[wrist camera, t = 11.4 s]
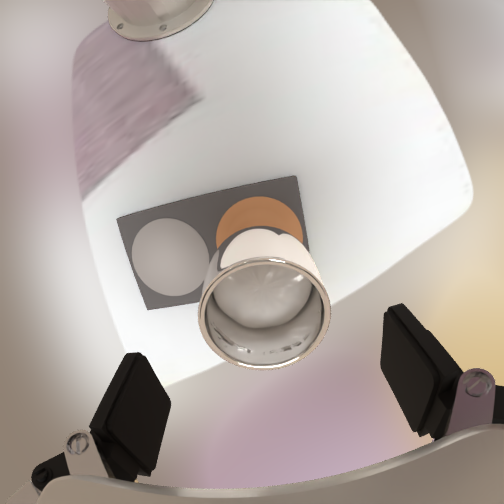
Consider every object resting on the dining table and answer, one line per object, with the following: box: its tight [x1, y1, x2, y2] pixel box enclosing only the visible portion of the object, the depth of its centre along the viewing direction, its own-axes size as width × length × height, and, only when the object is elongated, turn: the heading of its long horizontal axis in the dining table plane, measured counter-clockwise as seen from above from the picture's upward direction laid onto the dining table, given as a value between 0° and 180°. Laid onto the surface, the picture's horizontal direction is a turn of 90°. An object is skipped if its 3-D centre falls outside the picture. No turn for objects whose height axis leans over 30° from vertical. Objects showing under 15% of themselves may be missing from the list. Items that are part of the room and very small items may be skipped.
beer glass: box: [198, 208, 331, 370], centre depth 20 cm, size 7×7×15 cm
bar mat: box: [116, 176, 310, 310], centre depth 28 cm, size 11×19×1 cm, turn 102°
